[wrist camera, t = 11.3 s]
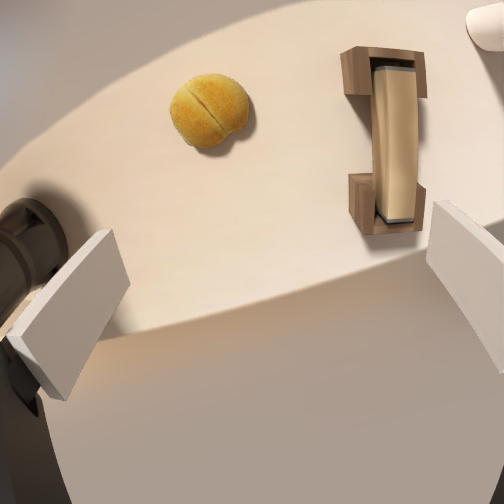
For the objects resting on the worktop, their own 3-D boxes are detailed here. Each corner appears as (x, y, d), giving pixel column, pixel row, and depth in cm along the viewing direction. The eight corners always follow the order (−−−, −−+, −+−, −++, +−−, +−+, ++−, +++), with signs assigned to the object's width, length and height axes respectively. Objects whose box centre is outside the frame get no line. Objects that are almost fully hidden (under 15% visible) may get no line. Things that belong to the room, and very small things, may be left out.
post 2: (349, 211, 39) (363, 235, 33) (348, 174, 37) (364, 191, 31) (400, 208, 38) (421, 230, 32) (402, 172, 36) (426, 189, 30)
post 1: (398, 56, 29) (423, 52, 23) (401, 95, 31) (427, 98, 25) (340, 53, 30) (356, 46, 24) (344, 93, 32) (361, 94, 26)
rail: (372, 204, 35) (387, 222, 31) (367, 68, 28) (385, 65, 23) (396, 203, 35) (413, 221, 30) (394, 70, 28) (415, 68, 23)
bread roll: (262, 114, 34) (262, 116, 31) (201, 155, 37) (194, 163, 33) (221, 59, 31) (216, 55, 28) (161, 104, 34) (150, 106, 30)
